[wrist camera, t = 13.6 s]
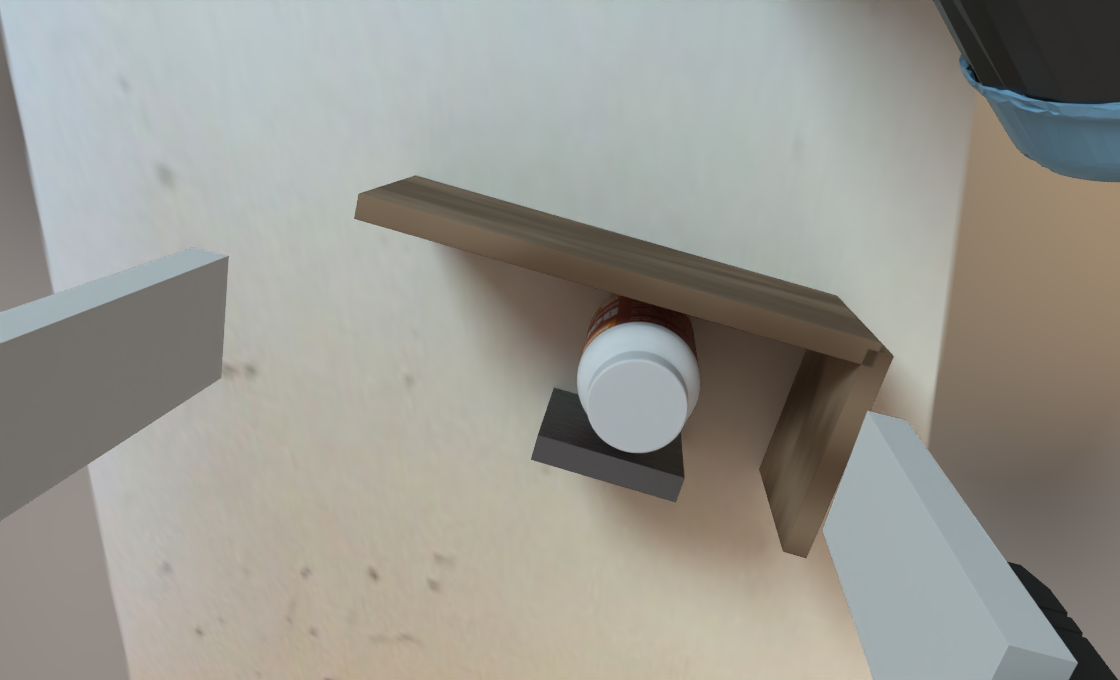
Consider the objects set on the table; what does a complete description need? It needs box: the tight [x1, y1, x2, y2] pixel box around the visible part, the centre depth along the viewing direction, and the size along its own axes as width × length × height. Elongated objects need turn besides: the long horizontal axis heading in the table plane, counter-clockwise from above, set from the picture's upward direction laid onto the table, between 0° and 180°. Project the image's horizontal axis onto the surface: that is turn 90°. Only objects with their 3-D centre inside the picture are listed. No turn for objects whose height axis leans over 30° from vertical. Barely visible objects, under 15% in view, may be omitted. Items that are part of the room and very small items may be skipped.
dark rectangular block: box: [531, 388, 684, 502], centre depth 44 cm, size 2×8×7 cm, turn 75°
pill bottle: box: [577, 294, 700, 453], centre depth 40 cm, size 6×6×11 cm
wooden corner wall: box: [354, 176, 894, 558], centre depth 41 cm, size 12×26×9 cm, turn 75°
